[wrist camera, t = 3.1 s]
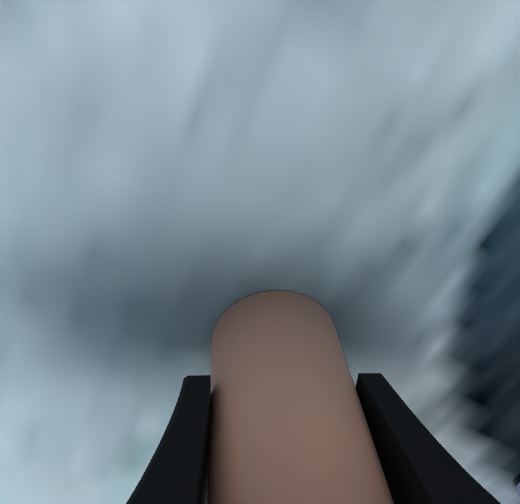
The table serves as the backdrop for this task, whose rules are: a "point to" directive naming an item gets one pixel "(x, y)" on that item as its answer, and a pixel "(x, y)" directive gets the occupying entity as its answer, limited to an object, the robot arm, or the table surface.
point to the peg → (286, 409)
